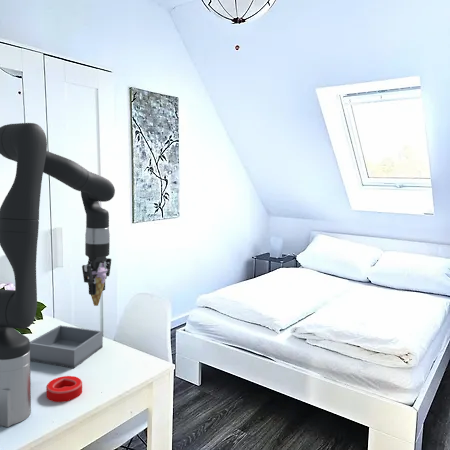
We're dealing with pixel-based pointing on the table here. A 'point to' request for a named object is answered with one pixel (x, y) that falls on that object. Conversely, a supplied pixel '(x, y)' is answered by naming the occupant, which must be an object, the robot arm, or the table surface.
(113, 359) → the table surface
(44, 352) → the bin
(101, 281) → the ice cream cone
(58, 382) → the decorative ornament
